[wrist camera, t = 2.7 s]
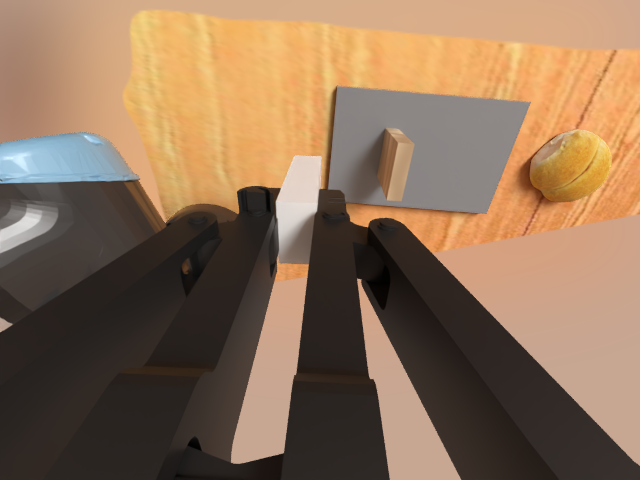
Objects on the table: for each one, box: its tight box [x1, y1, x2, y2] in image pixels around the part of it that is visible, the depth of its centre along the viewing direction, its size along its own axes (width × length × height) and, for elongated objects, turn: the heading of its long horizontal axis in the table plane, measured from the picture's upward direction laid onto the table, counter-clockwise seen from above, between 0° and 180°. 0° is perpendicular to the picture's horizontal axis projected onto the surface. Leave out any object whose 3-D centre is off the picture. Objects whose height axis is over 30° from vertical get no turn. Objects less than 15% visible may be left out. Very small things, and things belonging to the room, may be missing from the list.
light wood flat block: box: [377, 128, 415, 201], centre depth 34 cm, size 2×6×8 cm, turn 176°
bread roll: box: [529, 129, 612, 202], centre depth 37 cm, size 8×9×4 cm
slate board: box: [328, 86, 531, 214], centre depth 38 cm, size 22×14×1 cm, turn 86°
